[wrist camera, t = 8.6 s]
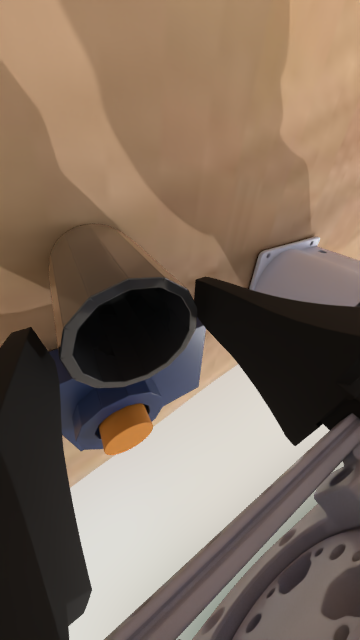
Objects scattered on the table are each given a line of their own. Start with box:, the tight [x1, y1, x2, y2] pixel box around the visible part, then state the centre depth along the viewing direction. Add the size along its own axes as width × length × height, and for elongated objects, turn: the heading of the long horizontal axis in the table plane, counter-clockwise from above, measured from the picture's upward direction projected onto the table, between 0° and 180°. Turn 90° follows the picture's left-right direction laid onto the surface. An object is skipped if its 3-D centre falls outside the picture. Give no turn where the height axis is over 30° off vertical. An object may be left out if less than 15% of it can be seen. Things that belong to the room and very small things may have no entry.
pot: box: [49, 224, 198, 388], centre depth 10 cm, size 5×6×7 cm
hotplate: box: [49, 317, 206, 451], centre depth 17 cm, size 13×10×5 cm
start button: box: [99, 403, 153, 455], centre depth 14 cm, size 4×4×2 cm
